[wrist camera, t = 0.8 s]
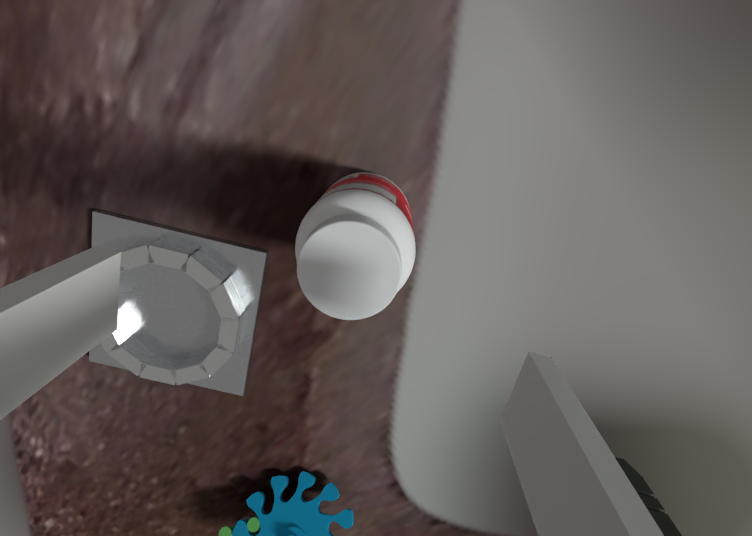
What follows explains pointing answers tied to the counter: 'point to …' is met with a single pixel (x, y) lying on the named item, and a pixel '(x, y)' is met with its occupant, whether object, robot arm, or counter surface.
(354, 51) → the counter surface
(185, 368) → the duct flange
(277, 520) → the blue knobbed piece
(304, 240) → the pill bottle
